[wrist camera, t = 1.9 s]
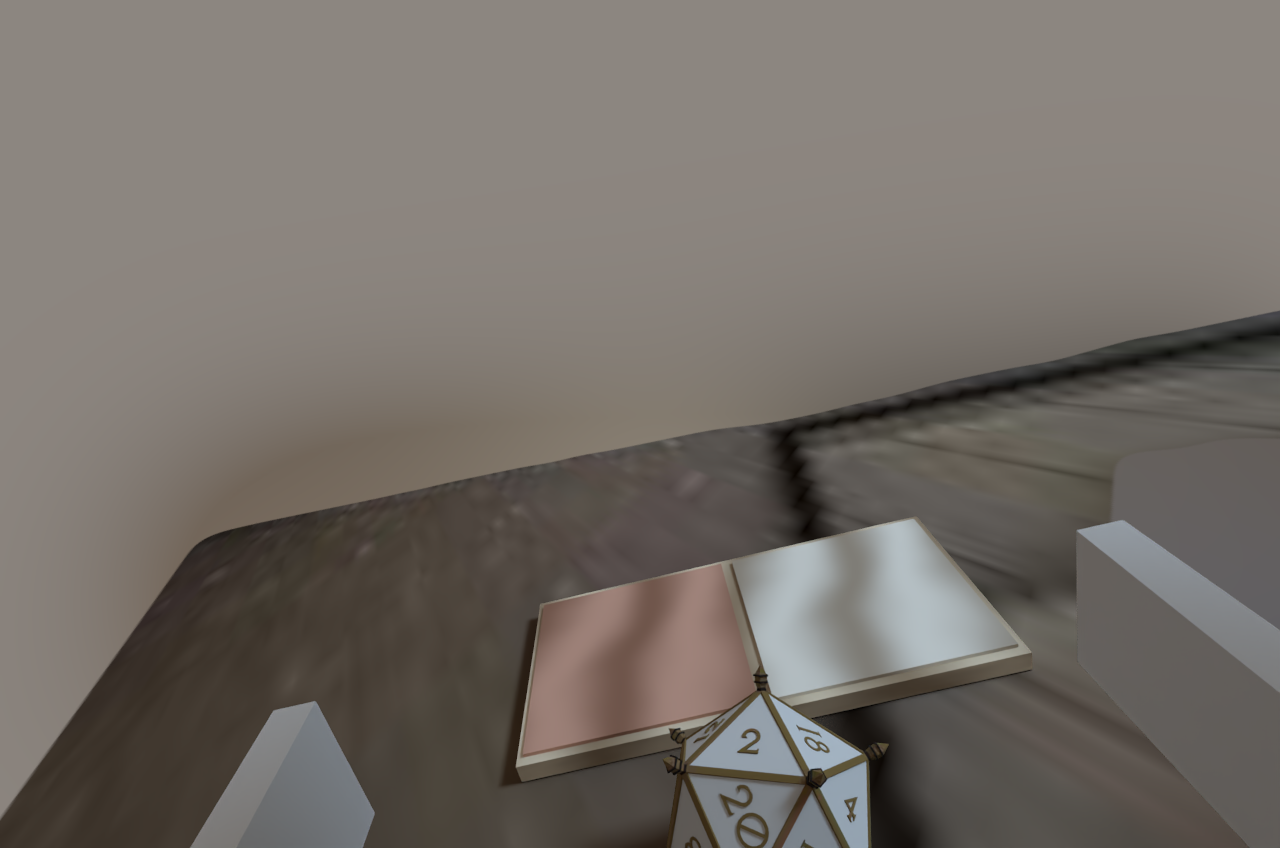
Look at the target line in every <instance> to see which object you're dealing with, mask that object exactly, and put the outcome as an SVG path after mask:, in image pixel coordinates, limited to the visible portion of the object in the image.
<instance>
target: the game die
mask: <svg viewBox="0 0 1280 848" xmlns="http://www.w3.org/2000/svg"><path fill="white" fill-rule="evenodd" d="M753 676H755V681H754V683H755V684H756V686H757V690H756V691H755V692H753V693H752V694H750V695H749V696H747V697H746V698H744V699H743V700H741V701H740V702H739V703H737V704H736V705H734V706H733V707H731V708H730V709H728V710H727V711H725V712H724V713H722V714H721V715H719V716H718V717H716V718H715V719H713V720H712V721H710V722H709V723H708V724H706V725H705V726H703V727H702V728H700V729H699V730H697V731H696V732H694V733H693V734H691V735H690V736H688V737H686V736H685V732H684V731H683V732H682V731H681V728H676V729H675V728H669V731H670V735H671V736H670V738H671V739H672V740H673V741H674V740H675V742H676V743H677V744H682V747H681V754H680V759H678V757H675V756H672V755H670V757H667V758H664V759H663V761H664V763H665V765H666V769H667V772H668V773H670V772H672V773H673V775H675V774H677V780H676V787H675V794H674V800H673V807H672V814H671V820H670V827H669V834H668V840H667V847H666V848H871V821H870V784H869V761H870V760H874V759H876V760H878V758H880V757H884V753H885V751H886V749H887V747H888V745H889V744H882V743H876V742H874V744H873V745H871V746H870V745H869V748H868V749H867V750H866V751H862V750H860V749H859V748H857V747H855V746H854V745H852V744H851V743H849V742H847V741H846V740H844V739H843V738H841V737H840V736H838V735H836V734H835V733H833V732H832V731H830V730H828V729H827V728H825V727H824V726H822V725H821V724H819V723H817V722H816V721H814V720H813V719H811V718H809V717H808V716H806V715H805V714H803V713H801V712H800V711H798V710H797V709H795V708H794V707H792V706H790V705H789V704H787V703H786V702H784V701H782V700H781V699H779V698H778V697H776V696H775V695H773V694H771V693H770V692H768V691H767V690H766V685H767V683H768V681H767V677H768V674H766V673H765V671H764V669H763V667H762V665H761V664H760V666H759V667H758V669H757V671H756V673H755V674H753Z"/></svg>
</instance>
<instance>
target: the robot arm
mask: <svg viewBox="0 0 1280 848" xmlns="http://www.w3.org/2000/svg"><path fill="white" fill-rule="evenodd" d="M1076 554H1077V662H1078V663H1079V664H1080V665H1081V666H1082V667H1083V668H1084V669H1085V671H1086V672H1087V673H1088V674H1089V675H1090V676H1091V677H1092V678H1093V679H1094V680H1095V681H1096V682H1097V683H1098V685H1099V686H1100V687H1101V688H1102V689H1103V690H1104V691H1105V692H1106V693H1107V694H1108V695H1109V696H1110V698H1111V699H1112V700H1113V701H1114V702H1115V703H1116V704H1117V705H1118V706H1119V707H1120V708H1121V709H1122V710H1123V712H1124V713H1125V714H1126V715H1127V716H1128V717H1129V718H1130V719H1131V720H1132V721H1133V722H1134V723H1135V724H1136V726H1137V727H1138V728H1139V729H1140V730H1141V731H1142V732H1143V733H1144V734H1145V735H1146V736H1147V737H1148V738H1149V740H1150V741H1151V742H1152V743H1153V744H1154V745H1155V746H1156V747H1157V748H1158V749H1159V750H1160V751H1161V752H1162V754H1163V755H1164V756H1165V757H1166V758H1167V759H1168V760H1169V761H1170V762H1171V763H1172V764H1173V765H1174V766H1175V768H1176V769H1177V770H1178V771H1179V772H1180V773H1181V774H1182V775H1183V776H1184V777H1185V778H1186V779H1187V781H1188V782H1189V783H1190V784H1191V785H1192V786H1193V787H1194V788H1195V789H1196V790H1197V791H1198V792H1199V793H1200V795H1201V796H1202V797H1203V798H1204V799H1205V800H1206V801H1207V802H1208V803H1209V804H1210V805H1211V806H1212V807H1213V809H1214V810H1215V811H1216V812H1217V813H1218V814H1219V815H1220V816H1221V817H1222V818H1223V819H1224V820H1225V821H1226V823H1227V824H1228V825H1229V826H1230V827H1231V828H1232V829H1233V830H1234V831H1235V832H1236V833H1237V834H1238V835H1239V837H1240V838H1241V839H1242V840H1243V841H1244V842H1245V843H1246V844H1247V845H1248V846H1249V847H1250V848H1280V630H1279V629H1277V628H1276V627H1274V626H1273V625H1272V624H1270V623H1269V622H1267V621H1266V620H1264V619H1263V618H1262V617H1260V616H1259V615H1257V614H1256V613H1255V612H1253V611H1252V610H1250V609H1249V608H1247V607H1246V606H1245V605H1243V604H1242V603H1240V602H1239V601H1238V600H1236V599H1235V598H1233V597H1232V596H1230V595H1229V594H1228V593H1226V592H1225V591H1223V590H1222V589H1221V588H1219V587H1218V586H1216V585H1215V584H1213V583H1212V582H1211V581H1209V580H1208V579H1206V578H1205V577H1203V576H1202V575H1201V574H1199V573H1198V572H1196V571H1195V570H1194V569H1192V568H1191V567H1189V566H1188V565H1186V564H1185V563H1184V562H1182V561H1181V560H1179V559H1178V558H1177V557H1175V556H1174V555H1172V554H1171V553H1169V552H1168V551H1167V550H1165V549H1164V548H1162V547H1161V546H1160V545H1158V544H1157V543H1155V542H1154V541H1153V540H1151V539H1150V538H1148V537H1147V536H1145V535H1144V534H1143V533H1141V532H1140V531H1138V530H1137V529H1136V528H1134V527H1133V526H1131V525H1130V524H1128V523H1127V522H1126V521H1124V520H1121V521H1116V522H1112V523H1107V524H1103V525H1098V526H1094V527H1089V528H1085V529H1080V530H1076ZM374 814H375V813H374V811H373V809H372V807H371V805H370V803H369V801H368V799H367V797H366V796H365V794H364V792H363V790H362V788H361V786H360V784H359V782H358V780H357V778H356V777H355V775H354V773H353V771H352V769H351V767H350V765H349V763H348V761H347V760H346V758H345V756H344V754H343V752H342V750H341V748H340V746H339V744H338V743H337V741H336V739H335V737H334V735H333V733H332V731H331V729H330V727H329V726H328V724H327V722H326V720H325V718H324V716H323V714H322V712H321V710H320V709H319V707H318V705H317V703H316V701H314V702H310V703H305V704H301V705H296V706H292V707H287V708H283V709H278V710H274V711H273V712H272V714H271V716H270V717H269V719H268V721H267V722H266V724H265V726H264V727H263V729H262V731H261V732H260V734H259V735H258V737H257V739H256V740H255V742H254V744H253V745H252V747H251V749H250V750H249V752H248V754H247V755H246V757H245V758H244V760H243V762H242V763H241V765H240V767H239V768H238V770H237V772H236V773H235V775H234V777H233V778H232V780H231V782H230V783H229V785H228V786H227V788H226V790H225V791H224V793H223V795H222V796H221V798H220V800H219V801H218V803H217V805H216V806H215V808H214V809H213V811H212V813H211V814H210V816H209V818H208V819H207V821H206V823H205V824H204V826H203V828H202V829H201V831H200V833H199V834H198V836H197V837H196V839H195V841H194V842H193V844H192V846H191V847H190V848H362V847H363V845H364V842H365V839H366V836H367V834H368V831H369V828H370V825H371V822H372V820H373V817H374Z"/></svg>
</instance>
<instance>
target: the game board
mask: <svg viewBox="0 0 1280 848" xmlns="http://www.w3.org/2000/svg"><path fill="white" fill-rule="evenodd" d="M760 664H761V665H762V667H763V669H764V671H765V673H766V674H768V677H767V681H768V683H767V685H766V690H767V691H768V692H770V693H771V694H773V695H775V696H776V697H778V698H779V699H781V700H782V701H784V702H786V703H787V704H789V705H790V706H792V707H794V708H795V709H797V710H798V711H800V712H801V713H803V714H805V715H806V716H808V717H809V718H814V717H819V716H823V715H828V714H832V713H837V712H841V711H846V710H850V709H855V708H859V707H864V706H868V705H873V704H877V703H882V702H886V701H891V700H896V699H900V698H905V697H909V696H914V695H918V694H923V693H927V692H932V691H936V690H941V689H945V688H950V687H954V686H959V685H963V684H968V683H972V682H977V681H981V680H986V679H990V678H995V677H1000V676H1004V675H1009V674H1013V673H1018V672H1022V671H1027V670H1031V669H1033V666H1032V652H1031V651H1030V650H1029V649H1028V647H1027V646H1026V645H1025V644H1024V643H1023V642H1022V640H1021V639H1020V638H1019V637H1018V636H1017V634H1016V633H1015V632H1014V631H1013V630H1012V629H1011V627H1010V626H1009V625H1008V624H1007V623H1006V621H1005V620H1004V619H1003V618H1002V617H1001V616H1000V614H999V613H998V612H997V611H996V610H995V609H994V607H993V606H992V605H991V604H990V603H989V601H988V600H987V599H986V598H985V597H984V596H983V594H982V593H981V592H980V591H979V590H978V588H977V587H976V586H975V585H974V584H973V583H972V581H971V580H970V579H969V578H968V577H967V576H966V574H965V573H964V572H963V571H962V570H961V568H960V567H959V566H958V565H957V564H956V563H955V561H954V560H953V559H952V558H951V557H950V555H949V554H948V553H947V552H946V551H945V550H944V548H943V547H942V546H941V545H940V544H939V543H938V541H937V540H936V539H935V538H934V537H933V535H932V534H931V533H930V532H929V531H928V530H927V528H926V527H925V526H924V525H923V524H922V522H921V521H920V520H919V519H918V518H917V517H916V516H915V517H911V518H906V519H902V520H898V521H894V522H889V523H885V524H881V525H876V526H872V527H868V528H864V529H859V530H855V531H851V532H847V533H842V534H838V535H834V536H829V537H825V538H821V539H817V540H812V541H808V542H804V543H800V544H795V545H791V546H787V547H782V548H778V549H774V550H770V551H765V552H761V553H757V554H753V555H748V556H744V557H740V558H735V559H731V560H727V561H723V562H718V563H714V564H710V565H706V566H701V567H697V568H693V569H688V570H684V571H680V572H676V573H671V574H667V575H663V576H659V577H654V578H650V579H646V580H641V581H637V582H633V583H629V584H624V585H620V586H616V587H612V588H607V589H603V590H599V591H594V592H590V593H586V594H582V595H577V596H573V597H569V598H565V599H560V600H556V601H552V602H547V603H543V604H540V610H539V617H538V623H537V630H536V637H535V643H534V650H533V656H532V663H531V670H530V676H529V683H528V689H527V696H526V703H525V709H524V716H523V722H522V729H521V736H520V742H519V749H518V755H517V762H516V769H517V772H518V774H519V776H520V779H521V781H522V782H525V781H529V780H534V779H538V778H543V777H547V776H552V775H556V774H561V773H565V772H570V771H574V770H579V769H584V768H588V767H593V766H597V765H602V764H606V763H611V762H615V761H620V760H624V759H629V758H633V757H638V756H642V755H647V754H651V753H656V752H660V751H665V750H669V749H674V748H678V747H682V744H677V743H676V742H675V740H674V741H673V740H672V739H671V738H670V736H671V735H670V731H669V728H675V729H676V728H681V731H682V732H683V731H684V732H685V736H686V737H688V736H690V735H691V734H693V733H694V732H696V731H697V730H699V729H700V728H702V727H703V726H705V725H706V724H708V723H709V722H710V721H712V720H713V719H715V718H716V717H718V716H719V715H721V714H722V713H724V712H725V711H727V710H728V709H730V708H731V707H733V706H734V705H736V704H737V703H739V702H740V701H741V700H743V699H744V698H746V697H747V696H749V695H750V694H752V693H753V692H755V691H756V690H757V686H756V684H755V683H754V681H755V676H753V674H755V673H756V671H757V669H758V667H759V666H760Z"/></svg>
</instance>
